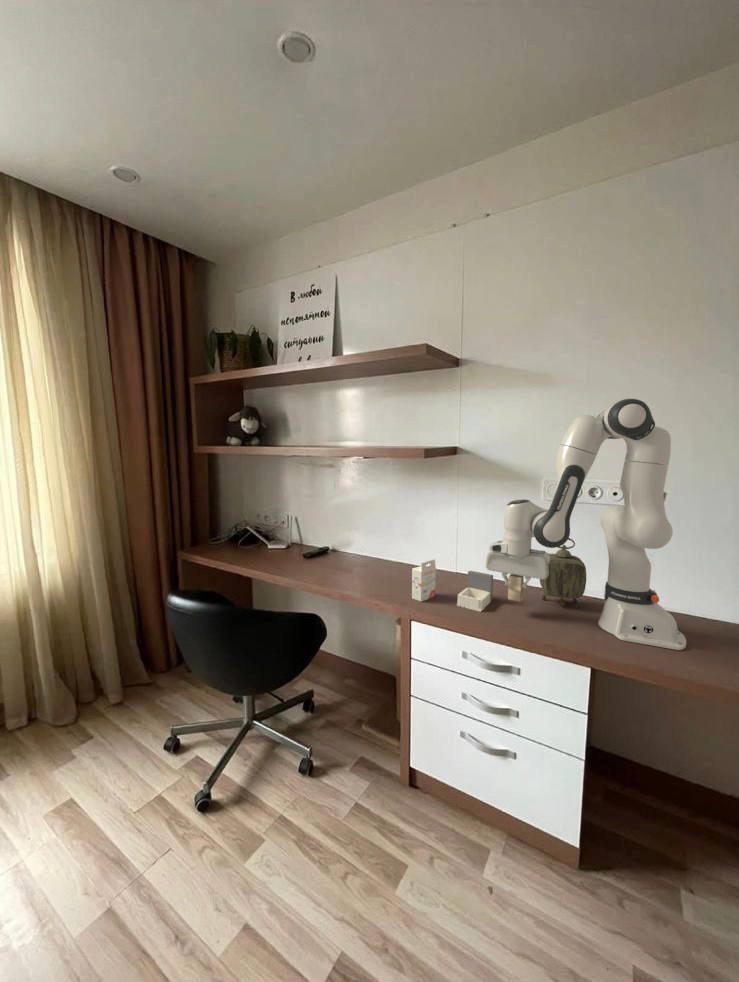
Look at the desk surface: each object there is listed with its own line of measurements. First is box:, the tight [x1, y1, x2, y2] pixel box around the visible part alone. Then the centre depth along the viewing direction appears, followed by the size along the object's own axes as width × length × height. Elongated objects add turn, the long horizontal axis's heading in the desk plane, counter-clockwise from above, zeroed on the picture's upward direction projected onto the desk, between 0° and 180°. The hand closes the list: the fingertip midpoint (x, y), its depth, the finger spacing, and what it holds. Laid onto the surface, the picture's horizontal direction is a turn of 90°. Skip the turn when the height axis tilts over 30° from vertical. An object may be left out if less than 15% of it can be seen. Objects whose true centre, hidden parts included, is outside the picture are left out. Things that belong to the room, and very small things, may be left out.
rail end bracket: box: [507, 574, 525, 603], centre depth 134 cm, size 4×5×8 cm
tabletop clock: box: [539, 537, 587, 607], centre depth 143 cm, size 14×9×25 cm, turn 74°
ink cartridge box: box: [411, 558, 437, 603], centre depth 149 cm, size 9×5×15 cm, turn 133°
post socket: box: [456, 570, 494, 613], centre depth 144 cm, size 9×12×10 cm
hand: (515, 586), depth 134 cm, fingers closed on rail end bracket, 4 cm apart
